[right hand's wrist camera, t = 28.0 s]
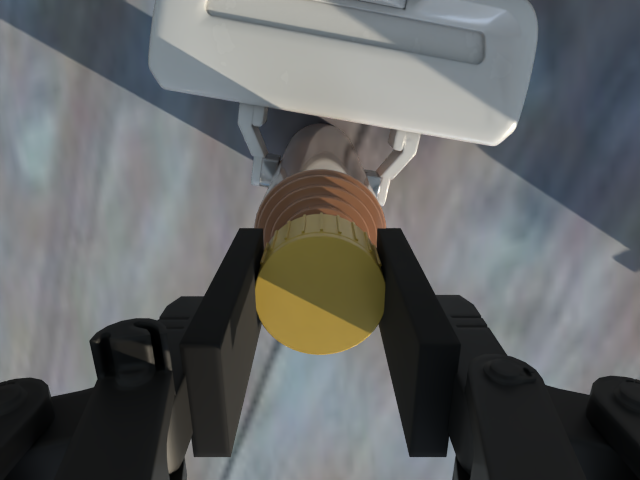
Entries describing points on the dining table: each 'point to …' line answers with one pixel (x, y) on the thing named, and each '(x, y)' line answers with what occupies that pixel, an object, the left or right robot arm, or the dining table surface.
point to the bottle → (320, 184)
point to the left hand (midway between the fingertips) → (318, 193)
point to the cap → (320, 285)
